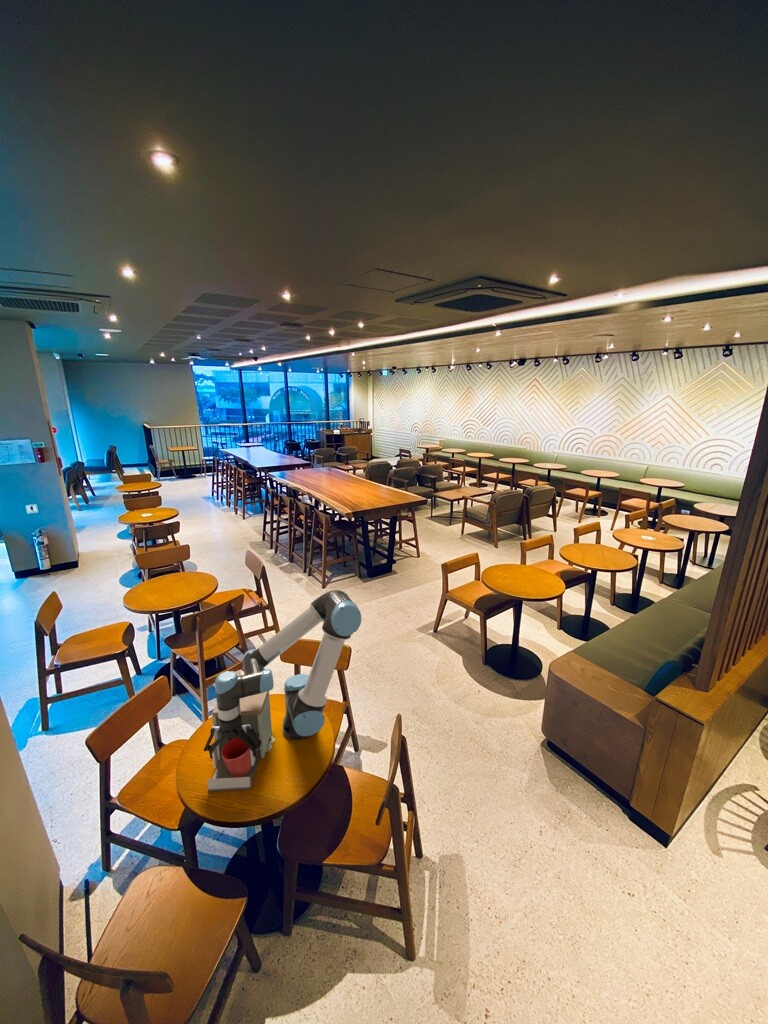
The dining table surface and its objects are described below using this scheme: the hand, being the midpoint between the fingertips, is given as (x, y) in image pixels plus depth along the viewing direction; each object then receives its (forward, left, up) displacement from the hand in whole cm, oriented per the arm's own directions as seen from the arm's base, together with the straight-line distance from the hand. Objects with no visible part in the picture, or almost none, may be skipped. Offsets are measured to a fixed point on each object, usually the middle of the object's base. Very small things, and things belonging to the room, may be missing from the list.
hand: (234, 763), depth 146 cm
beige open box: (0, -13, -4) cm, 14 cm away
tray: (0, 0, -4) cm, 4 cm away
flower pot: (-2, 0, -3) cm, 3 cm away
